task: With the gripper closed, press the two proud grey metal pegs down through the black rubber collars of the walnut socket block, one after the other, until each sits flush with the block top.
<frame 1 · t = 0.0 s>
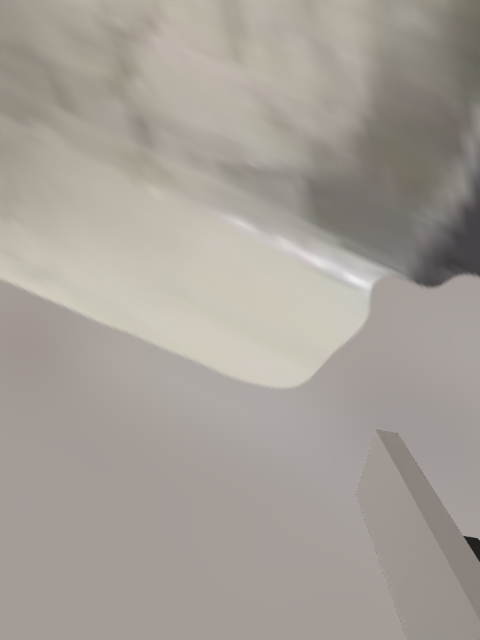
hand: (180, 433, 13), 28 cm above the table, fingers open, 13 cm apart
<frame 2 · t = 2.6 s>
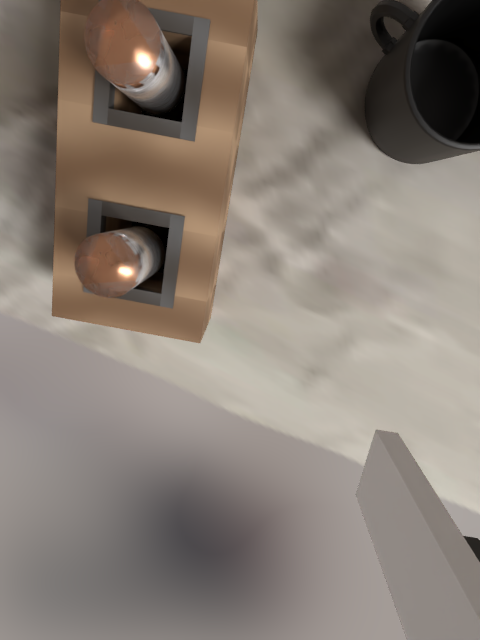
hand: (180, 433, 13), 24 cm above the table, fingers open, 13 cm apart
mug: (409, 91, 30), on the table
peg a: (125, 258, 26), point 9 cm above the table, slide at 5.0 cm
peg b: (142, 64, 23), point 9 cm above the table, slide at 5.0 cm
socket block: (164, 177, 33), on the table
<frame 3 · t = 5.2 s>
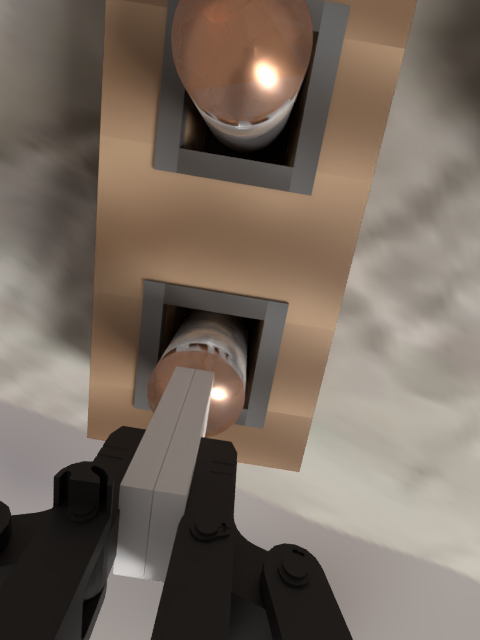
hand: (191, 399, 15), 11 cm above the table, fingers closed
peg a: (206, 361, 19), point 8 cm above the table, slide at 3.8 cm, touching gripper
peg b: (244, 81, 14), point 9 cm above the table, slide at 5.0 cm
socket block: (233, 229, 24), on the table
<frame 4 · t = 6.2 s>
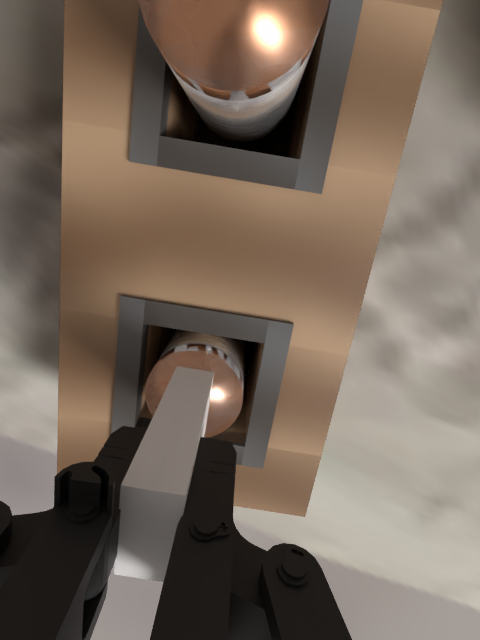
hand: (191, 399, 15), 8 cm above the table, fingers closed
peg a: (204, 361, 19), point 4 cm above the table, slide at 0.7 cm, touching gripper
peg b: (239, 47, 11), point 9 cm above the table, slide at 5.0 cm
socket block: (228, 233, 21), on the table
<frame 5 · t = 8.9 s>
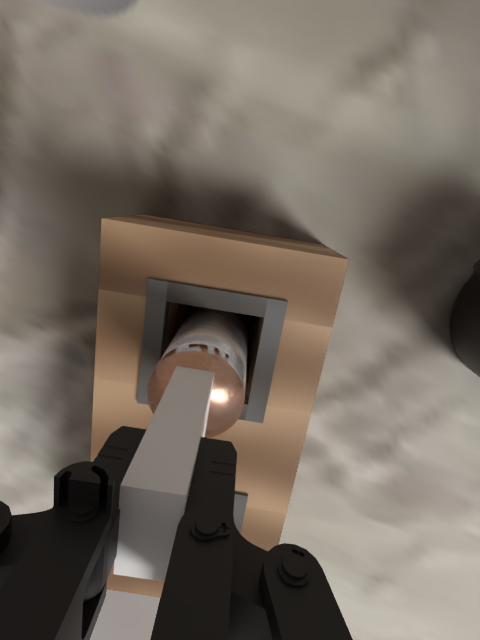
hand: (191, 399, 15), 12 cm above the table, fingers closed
peg b: (206, 362, 19), point 8 cm above the table, slide at 4.4 cm, touching gripper
socket block: (209, 391, 28), on the table
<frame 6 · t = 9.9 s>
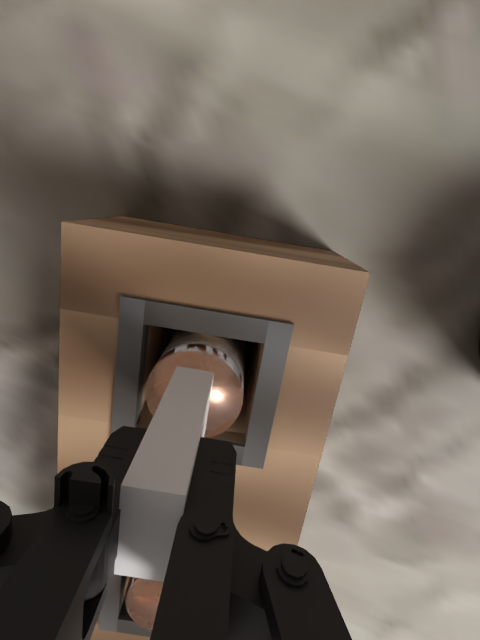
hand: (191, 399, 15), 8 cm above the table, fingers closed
peg a: (178, 546, 22), point 4 cm above the table, slide at 0.7 cm
peg b: (204, 362, 19), point 4 cm above the table, slide at 0.7 cm, touching gripper
socket block: (201, 417, 25), on the table
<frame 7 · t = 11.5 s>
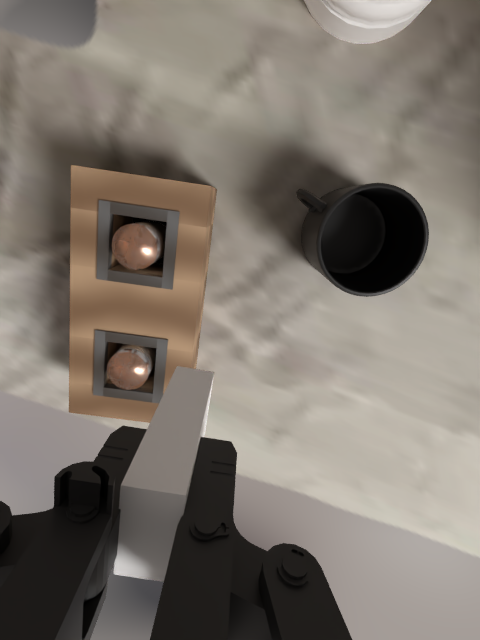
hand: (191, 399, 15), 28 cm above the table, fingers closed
mug: (335, 227, 40), on the table
peg a: (137, 357, 40), point 4 cm above the table, slide at 0.7 cm
peg b: (144, 243, 36), point 4 cm above the table, slide at 0.7 cm
socket block: (150, 293, 42), on the table
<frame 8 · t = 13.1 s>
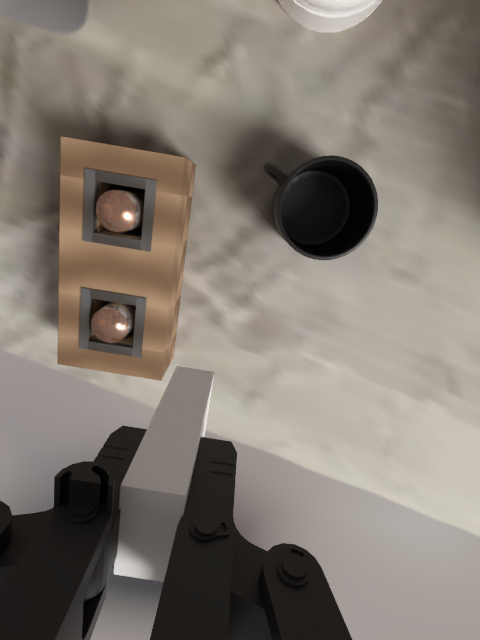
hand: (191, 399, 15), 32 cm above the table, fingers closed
mug: (304, 201, 44), on the table
peg a: (120, 316, 44), point 4 cm above the table, slide at 0.7 cm
peg b: (127, 210, 40), point 4 cm above the table, slide at 0.7 cm
socket block: (135, 260, 46), on the table
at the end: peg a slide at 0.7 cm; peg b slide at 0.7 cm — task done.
